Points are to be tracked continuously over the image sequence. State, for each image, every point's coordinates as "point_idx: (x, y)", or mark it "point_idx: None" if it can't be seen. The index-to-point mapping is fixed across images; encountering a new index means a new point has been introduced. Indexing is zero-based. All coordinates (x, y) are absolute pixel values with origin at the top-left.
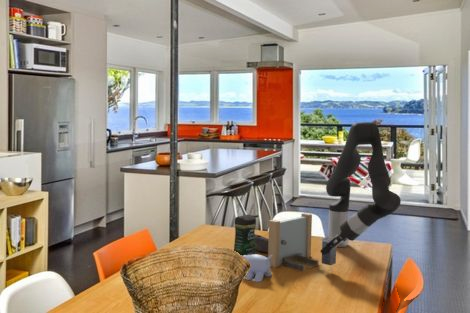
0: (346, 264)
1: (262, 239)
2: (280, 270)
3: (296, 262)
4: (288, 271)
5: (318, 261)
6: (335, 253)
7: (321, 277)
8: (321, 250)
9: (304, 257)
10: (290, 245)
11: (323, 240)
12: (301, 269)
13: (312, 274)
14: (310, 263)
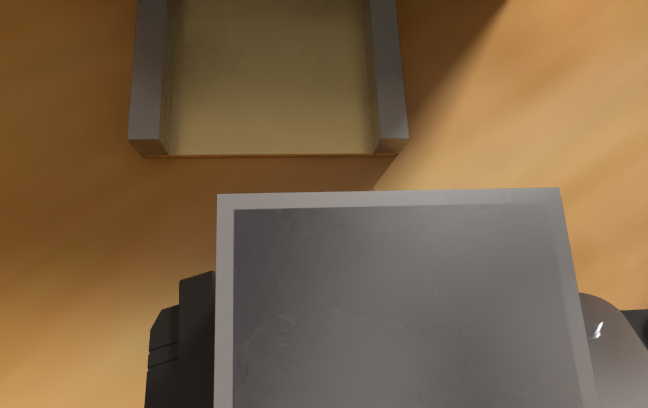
0: (631, 304)
1: None
2: (18, 36)
3: (285, 5)
4: (46, 93)
5: (405, 142)
6: None
7: (129, 401)
8: (182, 300)
9: (370, 4)
10: None
11: (225, 269)
12: (139, 152)
13: (139, 283)
14: (361, 93)
